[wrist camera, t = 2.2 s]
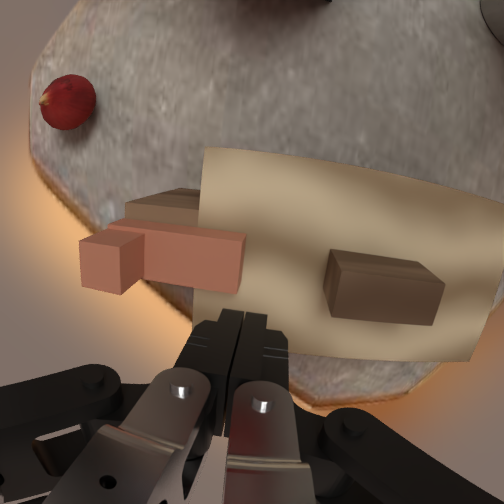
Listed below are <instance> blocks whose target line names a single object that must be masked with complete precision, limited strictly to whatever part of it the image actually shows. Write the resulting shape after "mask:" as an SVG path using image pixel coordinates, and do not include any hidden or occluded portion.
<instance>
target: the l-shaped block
mask: <svg viewBox="0 0 504 504" xmlns="http://www.w3.org/2000/svg"><path fill="white" fill-rule="evenodd" d="M246 235H247V234H246V233H238V232H230V231H223V230H215V229H207V228H199V227H191V226H183V225H175V224H167V223H159V222H150V221H142V220H133V219H125V218H123V219H120V220H118V221H115V222H113V223H110V224H108V229H105V230H103V231H101V232H98V233H96V234H94V235H91V236H89V237H87V238H84V239H82V240H80V241H79V252H80V269H81V281H82V286H83V287H87V288H92V289H95V290H100V291H104V292H109V293H113V294H118V295H122V294H123V293H124V292H125V291H126V290H127V289H129V288H130V287H131V286H132V285H133V284H135V283H136V282H137V281H138V280H139V279H140V278H141V279H146V280H152V281H157V282H163V283H169V284H174V285H180V286H186V287H192V288H198V289H205V290H211V291H217V292H224V293H230V294H237V292H238V289H239V287H240V284H241V280H242V271H243V262H244V253H245V244H246Z"/></svg>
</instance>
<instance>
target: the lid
mask: <svg viewBox="0 0 504 504" xmlns="http://www.w3.org/2000/svg"><path fill="white" fill-rule="evenodd" d="M198 227H199V228H207V229H215V230H223V231H230V232H238V233H246V234H247V235H246V244H245V253H244V262H243V271H242V280H241V284H240V287H239V289H238V292H237V294H230V293H224V292H217V291H211V290H205V289H198V288H194V296H193V321H192V331H193V329H194V327H195V326H196V325H197V324H199V323H200V322H202V321H204V320H210V321H216V322H217V321H218V318H219V316H220V313H221V311H222V309H223V308H226V309H233V310H239V311H244V318H245V314H246V311H247V312H254V313H261V314H268V317H267V326H266V329H271V330H278V331H282V332H283V334H284V335H285V336H286V338H287V339H288V353H296V354H305V355H315V356H325V357H337V358H349V359H364V360H382V361H408V362H467V361H468V362H469V360H470V358H471V356H472V354H473V352H474V350H475V347H476V345H477V343H478V340H479V337H480V335H481V333H482V330H483V328H484V326H485V323H486V320H487V318H488V315H489V312H490V310H491V307H492V304H493V301H494V298H495V295H496V292H497V289H498V286H499V282H500V279H501V276H502V272H503V269H504V204H502V203H499V202H496V201H493V200H490V199H487V198H484V197H480V196H477V195H474V194H470V193H467V192H464V191H460V190H457V189H453V188H449V187H446V186H442V185H438V184H434V183H431V182H427V181H423V180H418V179H414V178H410V177H406V176H402V175H397V174H393V173H388V172H383V171H379V170H374V169H369V168H364V167H359V166H353V165H348V164H342V163H336V162H331V161H325V160H318V159H312V158H305V157H298V156H291V155H284V154H276V153H268V152H259V151H250V150H240V149H230V148H218V147H205V152H204V161H203V171H202V181H201V192H200V204H199V216H198Z"/></svg>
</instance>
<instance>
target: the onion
mask: <svg viewBox="0 0 504 504" xmlns="http://www.w3.org/2000/svg"><path fill="white" fill-rule="evenodd" d="M95 103H96V94H95V90H94V88H93V85H92V84H91V83H90V82H89V81H88V80H87V79H86V78H84V77H82V76H78V75H73V74H69V75H65V76H62V77H60V78H57V79H55V80H54V81H53V82H52V83H51V84H50V85H49V86H48V87H47V88H46V89H45V91H44V93H43V95H42V97H41V98H40V100H39V105H40V107H41V113H42V116H43V119H44V120H45V121H46V122H47V123H48V124H49V125H50V126H51V127H53V128H56V129H60V130H70V129H74V128H77V127H78V126H79V125H81V124H82V123H84V122H85V121H86V120H87V119H88V117H89V116H90V115H91V114H92V112H93V109H94V107H95Z"/></svg>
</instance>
